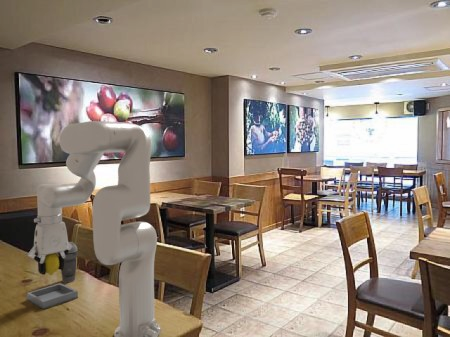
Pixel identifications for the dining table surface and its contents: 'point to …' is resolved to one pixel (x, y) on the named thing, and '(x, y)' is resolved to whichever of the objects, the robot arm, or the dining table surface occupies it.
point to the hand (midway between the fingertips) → (51, 270)
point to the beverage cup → (70, 264)
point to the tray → (52, 295)
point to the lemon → (51, 263)
